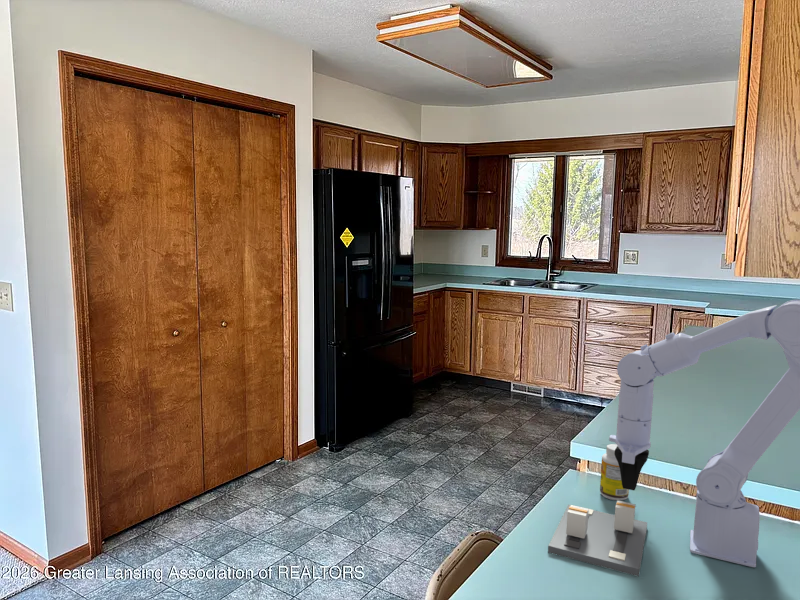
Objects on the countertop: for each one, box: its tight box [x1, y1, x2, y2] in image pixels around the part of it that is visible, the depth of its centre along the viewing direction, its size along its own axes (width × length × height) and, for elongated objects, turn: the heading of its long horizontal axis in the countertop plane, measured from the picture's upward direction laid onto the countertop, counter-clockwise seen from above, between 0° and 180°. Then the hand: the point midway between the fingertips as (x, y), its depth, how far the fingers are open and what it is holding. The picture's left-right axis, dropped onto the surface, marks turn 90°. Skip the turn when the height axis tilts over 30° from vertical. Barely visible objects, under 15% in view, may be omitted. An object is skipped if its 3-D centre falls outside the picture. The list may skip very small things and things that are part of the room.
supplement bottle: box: [599, 443, 630, 501], centre depth 117 cm, size 6×6×10 cm
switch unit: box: [547, 504, 648, 577], centre depth 100 cm, size 14×17×1 cm
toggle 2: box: [614, 500, 636, 533], centre depth 101 cm, size 3×3×4 cm
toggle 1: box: [566, 504, 590, 539], centre depth 99 cm, size 3×3×4 cm
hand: (628, 488), depth 107 cm, fingers closed
